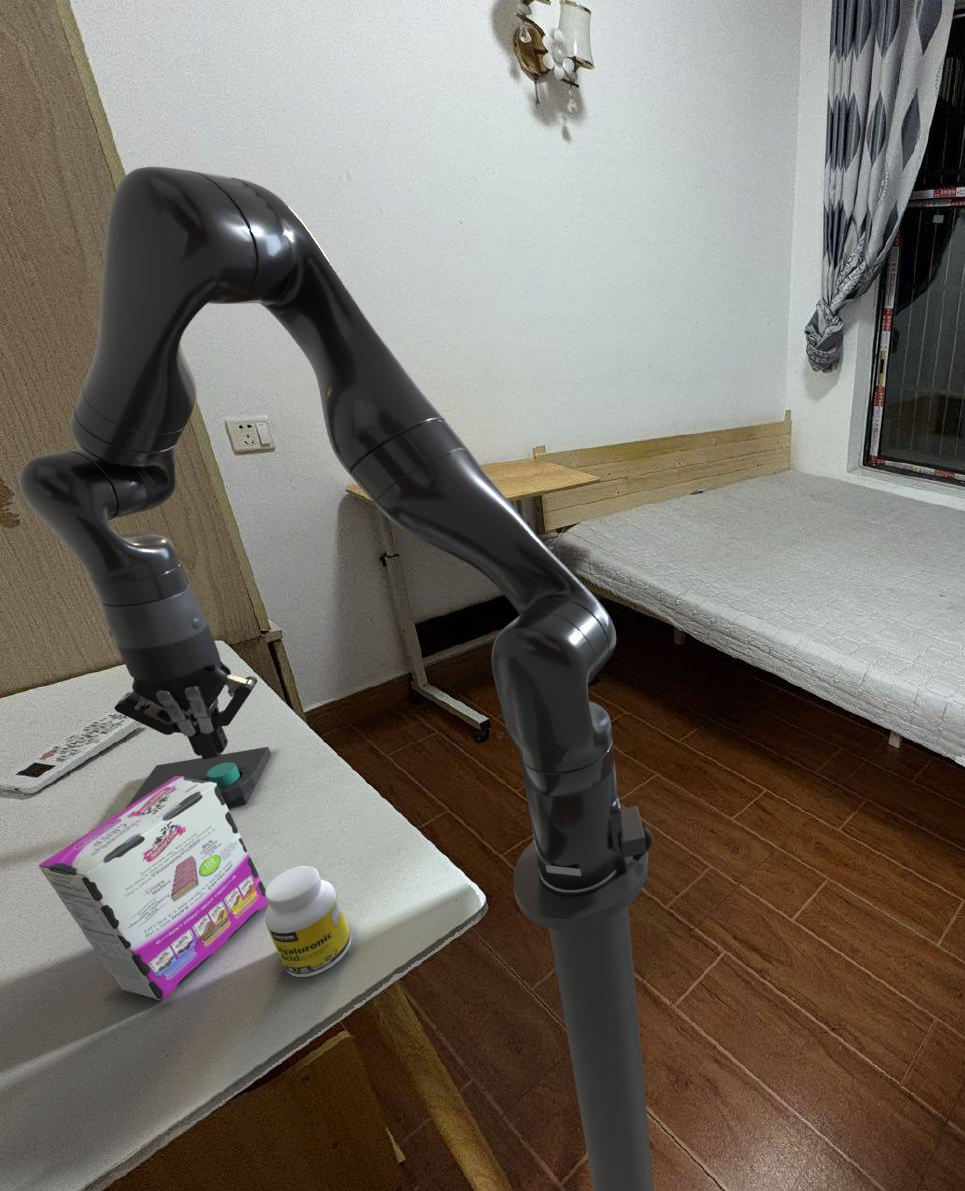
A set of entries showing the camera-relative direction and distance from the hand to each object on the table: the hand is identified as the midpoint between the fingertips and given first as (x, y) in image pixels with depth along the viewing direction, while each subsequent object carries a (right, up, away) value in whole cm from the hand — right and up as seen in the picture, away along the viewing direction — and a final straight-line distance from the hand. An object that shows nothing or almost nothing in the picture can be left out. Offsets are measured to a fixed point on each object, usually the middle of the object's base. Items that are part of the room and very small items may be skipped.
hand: (214, 754), depth 78 cm
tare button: (0, -4, +2) cm, 4 cm away
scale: (-5, -5, +4) cm, 8 cm away
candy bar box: (+12, -15, -15) cm, 24 cm away
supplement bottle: (+24, -16, -15) cm, 33 cm away
